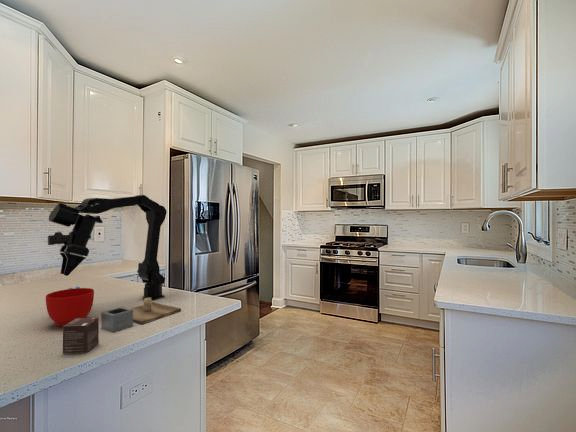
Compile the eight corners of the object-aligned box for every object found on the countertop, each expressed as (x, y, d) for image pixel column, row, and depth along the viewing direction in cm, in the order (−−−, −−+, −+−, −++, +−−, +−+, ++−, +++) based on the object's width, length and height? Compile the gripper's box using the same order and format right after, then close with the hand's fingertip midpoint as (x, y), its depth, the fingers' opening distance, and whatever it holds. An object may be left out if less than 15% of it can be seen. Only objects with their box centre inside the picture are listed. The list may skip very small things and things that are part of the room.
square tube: (121, 322, 101) (120, 307, 101) (133, 325, 98) (132, 309, 98) (101, 328, 96) (101, 312, 96) (113, 332, 93) (113, 315, 93)
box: (76, 344, 84) (76, 317, 84) (99, 343, 85) (99, 317, 85) (62, 354, 78) (61, 325, 78) (86, 353, 79) (86, 325, 78)
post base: (152, 304, 121) (152, 290, 121) (181, 311, 113) (181, 296, 113) (112, 316, 107) (112, 300, 107) (141, 324, 99) (141, 307, 99)
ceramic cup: (104, 311, 112) (104, 284, 112) (84, 328, 95) (84, 296, 95) (64, 314, 109) (64, 286, 109) (36, 332, 93) (36, 299, 93)
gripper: (52, 225, 110) (33, 267, 106) (58, 221, 97) (36, 270, 92) (86, 234, 117) (70, 275, 113) (97, 232, 103) (78, 278, 99)
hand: (63, 274), depth 104 cm, fingers open, 9 cm apart
